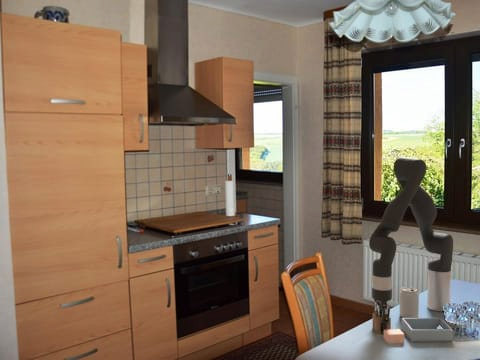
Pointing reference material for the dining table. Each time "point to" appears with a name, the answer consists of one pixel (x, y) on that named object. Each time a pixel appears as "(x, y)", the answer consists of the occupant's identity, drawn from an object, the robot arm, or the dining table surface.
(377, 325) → the block
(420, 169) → the robot arm
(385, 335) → the light box
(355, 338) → the dining table surface
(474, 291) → the dining table surface
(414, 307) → the can
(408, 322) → the tote
